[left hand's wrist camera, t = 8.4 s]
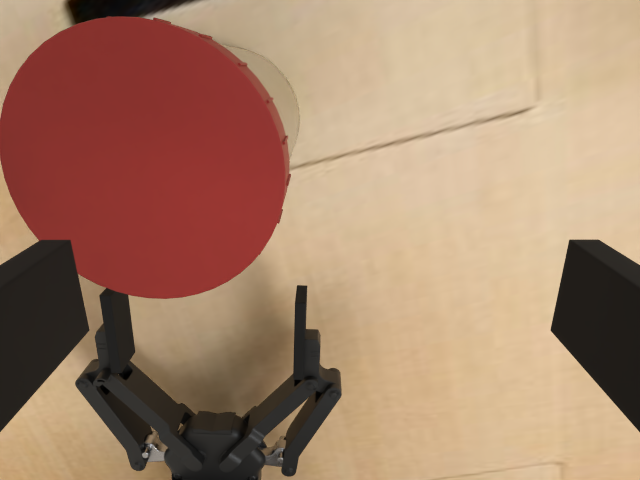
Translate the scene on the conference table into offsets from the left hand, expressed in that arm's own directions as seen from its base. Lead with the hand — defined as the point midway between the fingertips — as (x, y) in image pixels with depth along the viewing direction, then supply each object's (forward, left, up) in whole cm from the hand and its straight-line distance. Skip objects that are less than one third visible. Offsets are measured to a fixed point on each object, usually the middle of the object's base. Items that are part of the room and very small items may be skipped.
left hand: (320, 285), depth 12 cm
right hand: (+12, -4, -18) cm, 22 cm away
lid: (+1, -7, -7) cm, 9 cm away
